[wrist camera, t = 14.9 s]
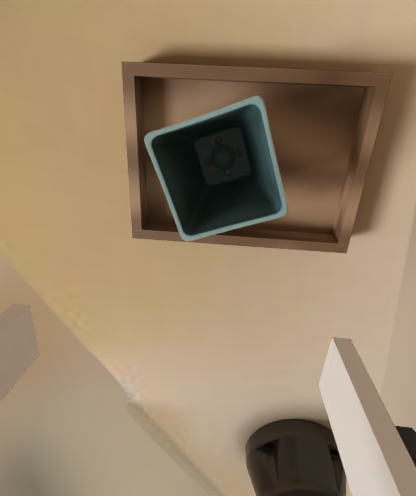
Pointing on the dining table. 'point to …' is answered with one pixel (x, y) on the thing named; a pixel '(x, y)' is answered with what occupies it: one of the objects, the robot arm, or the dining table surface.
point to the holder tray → (284, 139)
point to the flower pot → (219, 170)
